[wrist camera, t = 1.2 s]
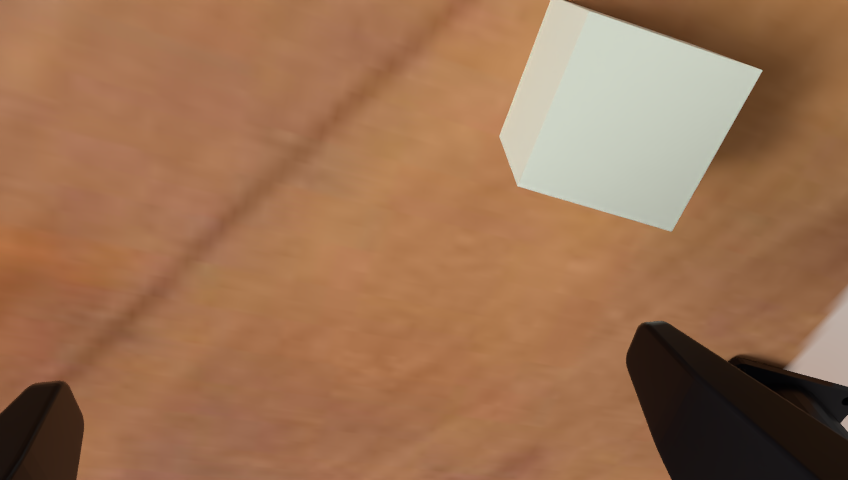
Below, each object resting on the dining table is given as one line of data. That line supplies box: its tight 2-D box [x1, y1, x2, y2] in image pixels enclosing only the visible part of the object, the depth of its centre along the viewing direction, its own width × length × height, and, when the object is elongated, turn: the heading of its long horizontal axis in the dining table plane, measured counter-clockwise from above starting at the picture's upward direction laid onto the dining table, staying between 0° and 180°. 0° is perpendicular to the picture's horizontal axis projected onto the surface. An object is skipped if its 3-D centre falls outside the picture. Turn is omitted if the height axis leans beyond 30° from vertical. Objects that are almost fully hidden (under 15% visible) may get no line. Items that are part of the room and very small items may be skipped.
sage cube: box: [499, 0, 763, 232], centre depth 18 cm, size 5×5×5 cm
